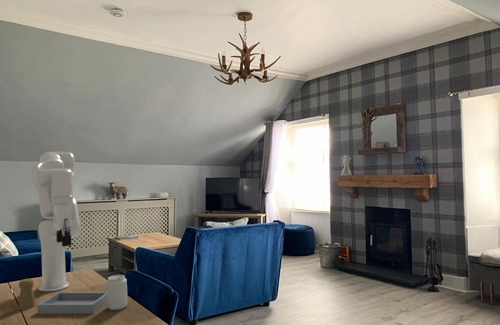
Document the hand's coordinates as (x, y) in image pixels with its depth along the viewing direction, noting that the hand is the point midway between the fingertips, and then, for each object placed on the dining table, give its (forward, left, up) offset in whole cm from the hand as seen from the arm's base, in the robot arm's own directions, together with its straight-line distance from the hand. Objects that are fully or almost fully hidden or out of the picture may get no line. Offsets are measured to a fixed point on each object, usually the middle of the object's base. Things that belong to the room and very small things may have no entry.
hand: (63, 243), depth 150 cm
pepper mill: (-14, -9, -25) cm, 30 cm away
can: (+18, +11, -25) cm, 33 cm away
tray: (+3, +2, -25) cm, 25 cm away
